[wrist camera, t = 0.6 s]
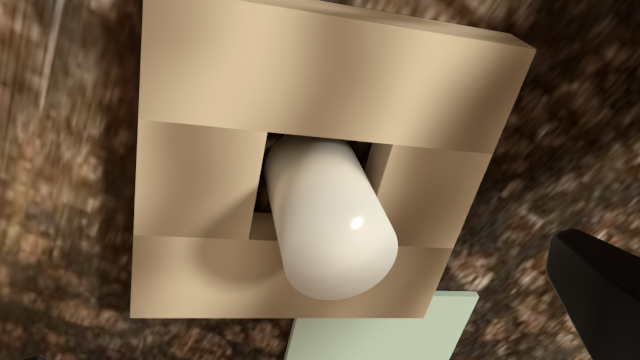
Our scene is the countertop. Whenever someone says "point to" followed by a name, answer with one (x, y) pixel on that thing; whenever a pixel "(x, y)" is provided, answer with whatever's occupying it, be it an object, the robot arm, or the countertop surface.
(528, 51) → the pocket block
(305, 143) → the ceramic cylinder
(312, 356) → the plate
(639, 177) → the countertop surface
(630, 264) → the robot arm
